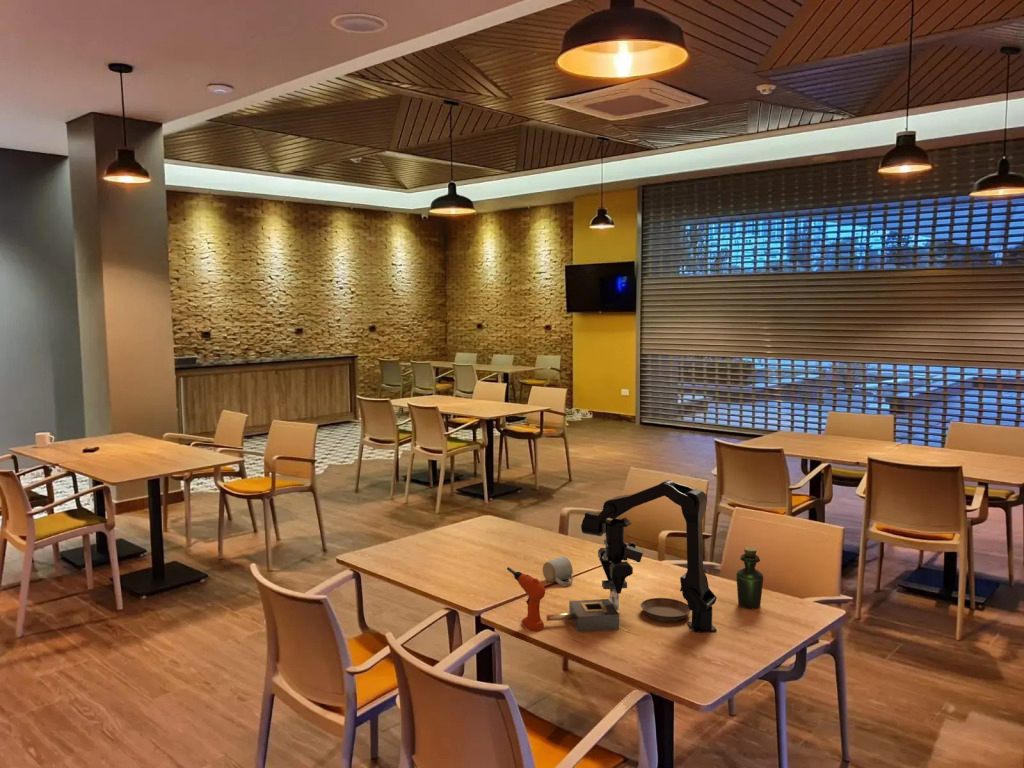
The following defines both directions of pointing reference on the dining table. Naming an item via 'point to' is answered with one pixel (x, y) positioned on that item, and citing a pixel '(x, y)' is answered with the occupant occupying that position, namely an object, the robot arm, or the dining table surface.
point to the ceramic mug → (558, 570)
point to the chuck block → (590, 615)
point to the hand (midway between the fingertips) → (614, 588)
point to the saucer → (665, 609)
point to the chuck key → (613, 592)
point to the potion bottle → (749, 580)
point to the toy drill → (531, 599)
